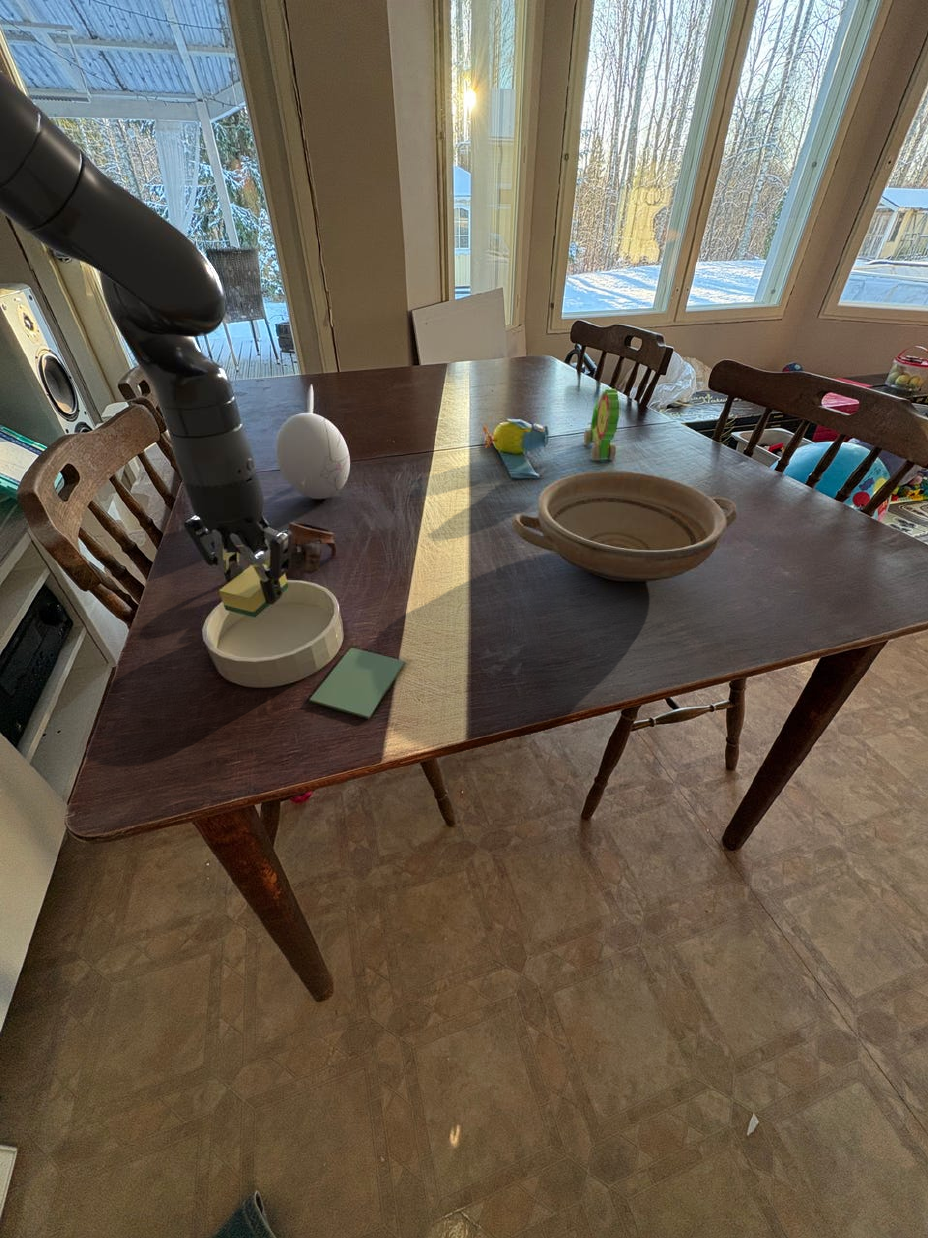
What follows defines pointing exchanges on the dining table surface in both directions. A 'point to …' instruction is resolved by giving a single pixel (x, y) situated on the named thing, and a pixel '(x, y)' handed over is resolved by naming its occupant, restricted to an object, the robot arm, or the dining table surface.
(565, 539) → the ceramic bowl
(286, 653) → the wash bowl
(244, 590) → the sponge
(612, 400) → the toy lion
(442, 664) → the dining table surface
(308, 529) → the pottery mug
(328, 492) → the spiked white egg
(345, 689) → the mat
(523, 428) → the toy airplane
